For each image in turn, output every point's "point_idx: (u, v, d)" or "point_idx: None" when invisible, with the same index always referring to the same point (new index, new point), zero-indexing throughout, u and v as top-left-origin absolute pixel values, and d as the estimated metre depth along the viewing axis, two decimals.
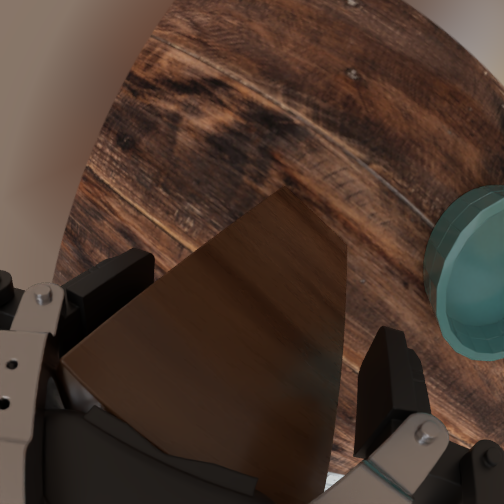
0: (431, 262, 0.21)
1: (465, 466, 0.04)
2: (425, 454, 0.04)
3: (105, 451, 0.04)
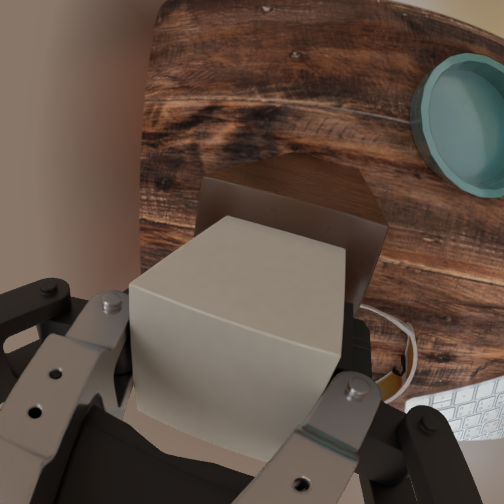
0: (420, 144, 0.25)
1: (402, 436, 0.05)
2: (350, 408, 0.05)
3: (105, 451, 0.04)
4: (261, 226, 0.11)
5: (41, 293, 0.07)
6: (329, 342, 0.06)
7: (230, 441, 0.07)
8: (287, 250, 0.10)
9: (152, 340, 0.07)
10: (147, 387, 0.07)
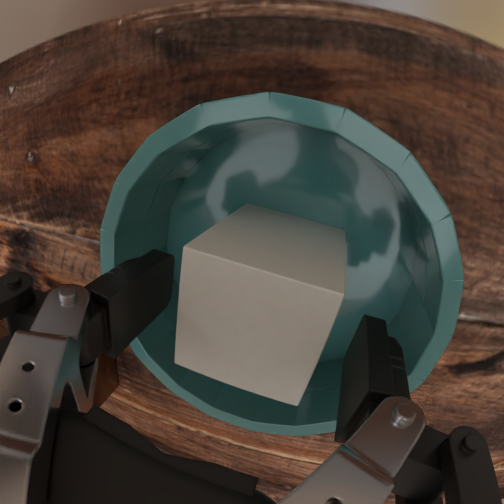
0: None
1: (444, 454, 0.05)
2: (399, 436, 0.05)
3: (105, 451, 0.04)
4: (276, 211, 0.13)
5: (7, 286, 0.06)
6: (335, 286, 0.08)
7: (256, 383, 0.10)
8: (299, 229, 0.12)
9: (198, 292, 0.09)
10: (188, 337, 0.10)
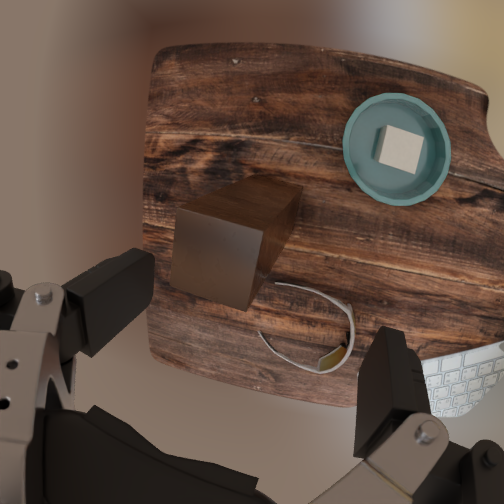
0: None
1: (465, 466, 0.04)
2: (425, 454, 0.04)
3: (105, 451, 0.04)
4: None
5: None
6: None
7: (403, 165, 0.31)
8: None
9: (390, 137, 0.31)
10: (385, 151, 0.31)
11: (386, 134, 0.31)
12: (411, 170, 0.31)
